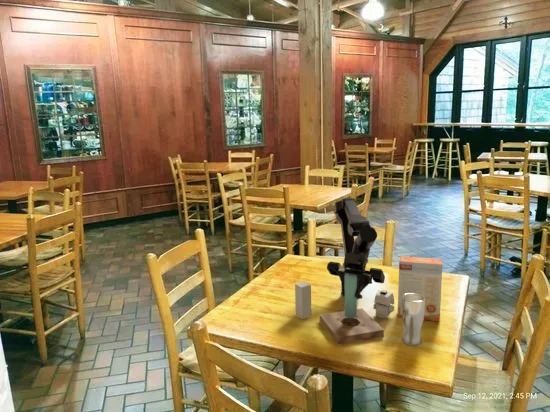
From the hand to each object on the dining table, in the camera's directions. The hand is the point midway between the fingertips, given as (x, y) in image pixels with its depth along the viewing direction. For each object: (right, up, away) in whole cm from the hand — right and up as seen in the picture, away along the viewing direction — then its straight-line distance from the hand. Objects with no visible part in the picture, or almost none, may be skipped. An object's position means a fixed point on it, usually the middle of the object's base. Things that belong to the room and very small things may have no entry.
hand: (349, 295), depth 142 cm
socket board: (+1, -12, +4) cm, 13 cm away
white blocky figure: (+14, -10, +11) cm, 20 cm away
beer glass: (+19, -14, -5) cm, 24 cm away
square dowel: (-14, -10, +14) cm, 22 cm away
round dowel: (+1, -7, +3) cm, 8 cm away
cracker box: (+26, -10, +11) cm, 30 cm away
